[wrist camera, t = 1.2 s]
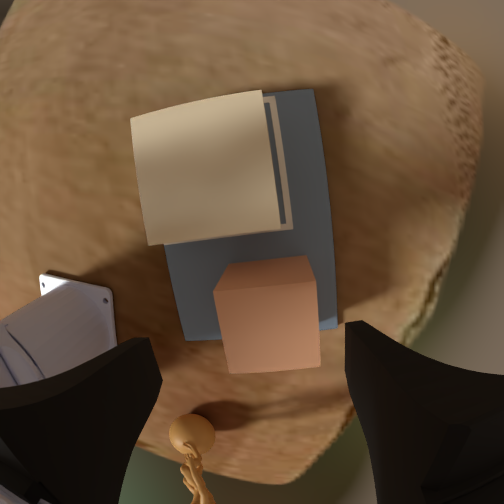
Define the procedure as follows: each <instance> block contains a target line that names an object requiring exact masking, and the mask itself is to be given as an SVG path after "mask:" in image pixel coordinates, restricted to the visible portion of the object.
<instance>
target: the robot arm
mask: <svg viewBox="0 0 504 504" xmlns="http://www.w3.org/2000/svg"><path fill="white" fill-rule="evenodd" d="M39 279H40V287H41V295H42V296H41V297H39V298H37V299H35V300H34V301H32V302H30V303H29V304H27V305H25V306H24V307H22V308H20V309H18V310H17V311H15V312H13V313H12V314H10V315H9V316H7V317H5V318H4V319H2V320H0V504H118V502H119V497H120V492H121V488H122V484H123V480H124V476H125V472H126V469H127V466H128V463H129V460H130V456H131V454H132V451H133V448H134V446H135V444H136V441H137V439H138V437H139V435H140V433H141V431H142V429H143V427H144V425H145V423H146V421H147V419H148V417H149V415H150V413H151V411H152V409H153V407H154V405H155V403H156V401H157V398H158V395H159V392H160V388H161V385H162V381H163V379H162V376H161V374H160V371H159V368H158V365H157V362H156V359H155V356H154V353H153V350H152V346H151V343H150V340H149V338H133V339H130V340H128V341H125V342H123V343H121V344H119V345H117V340H116V331H115V321H114V310H113V296H112V292H111V290H110V289H109V288H107V287H102V286H97V285H93V284H88V283H84V282H79V281H75V280H71V279H66V278H62V277H58V276H54V275H50V274H46V273H43V274H41V275H40V277H39ZM44 284H45V285H44ZM105 298H106V299H107V300H108V302H107V301H106V300H105ZM345 374H346V378H347V383H348V388H349V392H350V395H351V398H352V401H353V404H354V407H355V409H356V412H357V415H358V418H359V421H360V423H361V426H362V429H363V432H364V435H365V438H366V441H367V445H368V448H369V453H370V458H371V463H372V469H373V475H374V482H375V488H376V496H377V504H504V375H497V374H488V373H481V372H476V371H471V370H466V369H462V368H458V367H454V366H451V365H448V364H444V363H442V362H439V361H436V360H434V359H431V358H428V357H426V356H424V355H421V354H419V353H417V352H415V351H413V350H411V349H409V348H407V347H405V346H403V345H402V344H400V343H398V342H396V341H395V340H393V339H391V338H390V337H388V336H386V335H385V334H383V333H382V332H380V331H379V330H377V329H375V328H374V327H372V326H371V325H369V324H368V323H366V322H364V321H362V320H360V321H354V322H347V323H345Z"/></svg>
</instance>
